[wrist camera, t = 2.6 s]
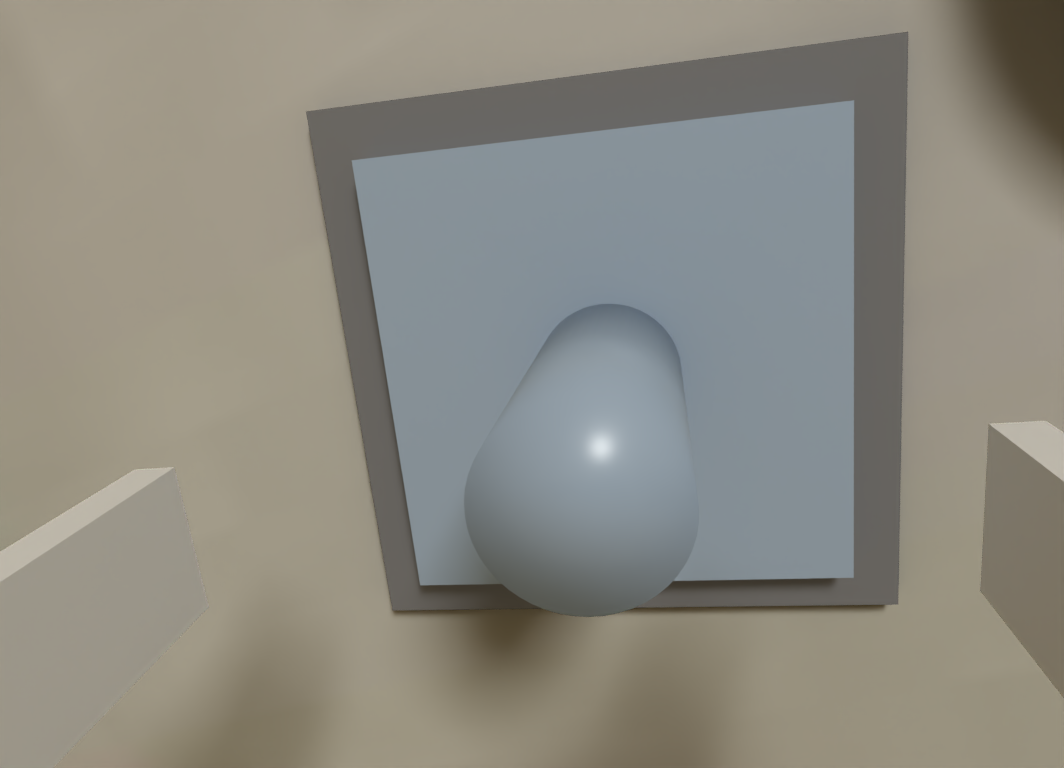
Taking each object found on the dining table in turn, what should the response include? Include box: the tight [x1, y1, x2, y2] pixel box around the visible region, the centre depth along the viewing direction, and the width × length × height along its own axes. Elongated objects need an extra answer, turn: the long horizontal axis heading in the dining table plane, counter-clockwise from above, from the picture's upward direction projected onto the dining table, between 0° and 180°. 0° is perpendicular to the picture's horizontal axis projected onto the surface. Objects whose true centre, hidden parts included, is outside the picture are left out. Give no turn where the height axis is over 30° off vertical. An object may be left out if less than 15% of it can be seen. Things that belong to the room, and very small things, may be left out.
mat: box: [306, 32, 908, 610], centre depth 23 cm, size 16×16×1 cm
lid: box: [352, 100, 854, 617], centre depth 18 cm, size 13×13×10 cm
